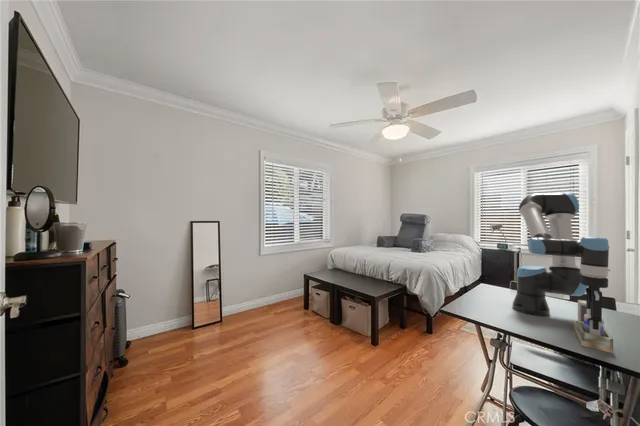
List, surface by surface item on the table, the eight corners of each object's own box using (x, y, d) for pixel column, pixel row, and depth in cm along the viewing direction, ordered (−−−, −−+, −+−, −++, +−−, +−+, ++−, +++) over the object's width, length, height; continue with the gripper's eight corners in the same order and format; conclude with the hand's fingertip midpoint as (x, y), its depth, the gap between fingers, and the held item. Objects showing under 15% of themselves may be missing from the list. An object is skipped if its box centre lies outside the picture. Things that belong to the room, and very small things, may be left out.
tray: (581, 345, 98) (582, 332, 98) (572, 324, 117) (572, 313, 117) (613, 353, 93) (613, 339, 93) (598, 329, 112) (598, 318, 112)
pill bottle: (579, 331, 103) (579, 308, 103) (591, 331, 104) (591, 307, 104) (595, 338, 98) (595, 313, 98) (607, 338, 98) (607, 313, 98)
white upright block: (579, 325, 112) (579, 302, 112) (577, 321, 116) (577, 299, 116) (596, 328, 108) (596, 305, 109) (593, 324, 113) (593, 302, 113)
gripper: (614, 282, 92) (613, 346, 91) (602, 273, 106) (601, 329, 106) (584, 278, 96) (583, 339, 96) (577, 270, 111) (576, 323, 110)
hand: (593, 334), depth 101 cm, fingers closed on pill bottle, 5 cm apart
